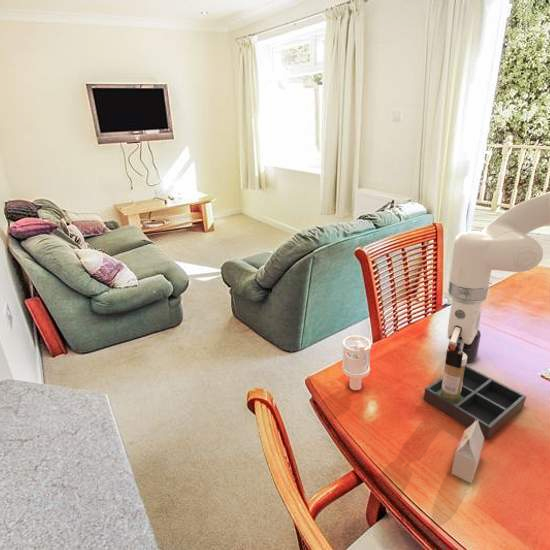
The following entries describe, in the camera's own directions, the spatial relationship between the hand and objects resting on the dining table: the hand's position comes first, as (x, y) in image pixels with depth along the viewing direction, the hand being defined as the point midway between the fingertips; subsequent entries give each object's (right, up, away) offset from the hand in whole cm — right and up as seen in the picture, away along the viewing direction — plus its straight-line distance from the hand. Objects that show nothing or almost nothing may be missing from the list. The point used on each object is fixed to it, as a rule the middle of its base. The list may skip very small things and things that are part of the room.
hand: (458, 354), depth 88 cm
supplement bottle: (+12, -5, +22) cm, 25 cm away
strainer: (-22, -11, +13) cm, 27 cm away
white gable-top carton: (-4, -21, -11) cm, 24 cm away
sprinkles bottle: (0, -12, +5) cm, 14 cm away
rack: (+6, -13, +5) cm, 15 cm away
